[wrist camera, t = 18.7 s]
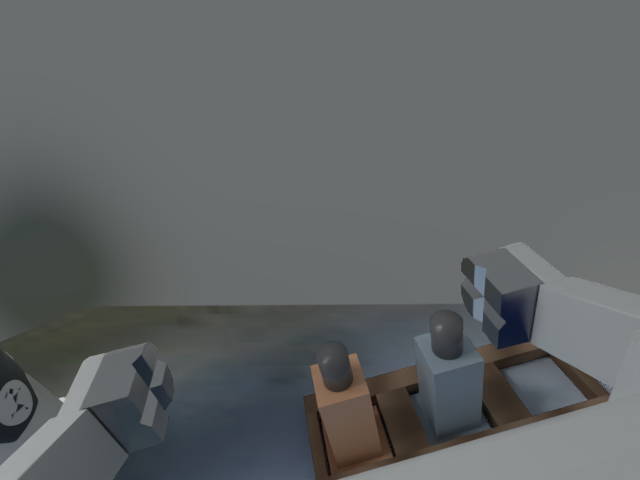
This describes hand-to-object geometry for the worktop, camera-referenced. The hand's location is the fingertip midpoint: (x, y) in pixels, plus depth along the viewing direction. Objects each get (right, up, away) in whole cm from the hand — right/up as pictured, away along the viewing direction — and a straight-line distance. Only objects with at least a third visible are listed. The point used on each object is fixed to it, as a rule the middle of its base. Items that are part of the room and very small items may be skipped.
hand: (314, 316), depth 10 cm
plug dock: (+12, -14, +25) cm, 31 cm away
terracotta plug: (+3, -16, +25) cm, 30 cm away
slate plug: (+12, -14, +25) cm, 31 cm away
